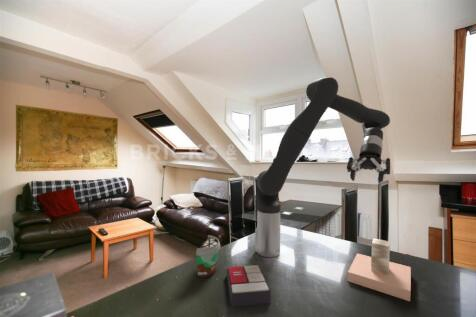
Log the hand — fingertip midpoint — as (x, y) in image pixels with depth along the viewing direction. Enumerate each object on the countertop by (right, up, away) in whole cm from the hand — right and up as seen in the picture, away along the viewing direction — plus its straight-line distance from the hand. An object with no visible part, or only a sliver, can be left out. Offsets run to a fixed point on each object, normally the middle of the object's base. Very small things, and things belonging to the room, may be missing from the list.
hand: (365, 180), depth 83 cm
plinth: (-1, -31, -9) cm, 32 cm away
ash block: (0, -28, -9) cm, 30 cm away
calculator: (-44, -32, -14) cm, 56 cm away
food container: (-56, -31, -4) cm, 64 cm away
